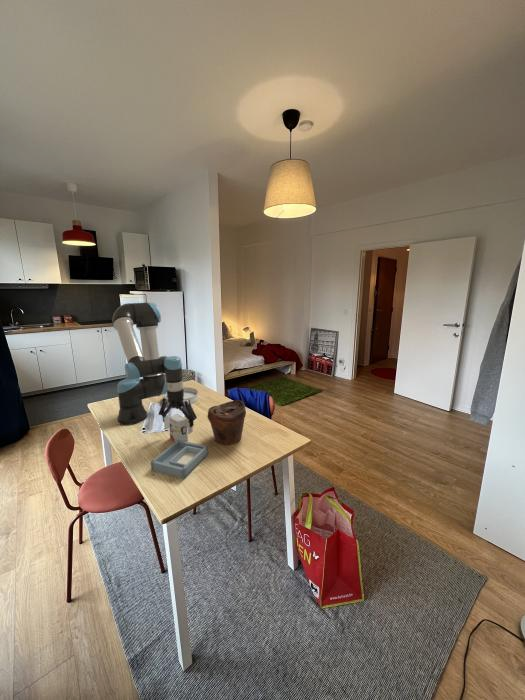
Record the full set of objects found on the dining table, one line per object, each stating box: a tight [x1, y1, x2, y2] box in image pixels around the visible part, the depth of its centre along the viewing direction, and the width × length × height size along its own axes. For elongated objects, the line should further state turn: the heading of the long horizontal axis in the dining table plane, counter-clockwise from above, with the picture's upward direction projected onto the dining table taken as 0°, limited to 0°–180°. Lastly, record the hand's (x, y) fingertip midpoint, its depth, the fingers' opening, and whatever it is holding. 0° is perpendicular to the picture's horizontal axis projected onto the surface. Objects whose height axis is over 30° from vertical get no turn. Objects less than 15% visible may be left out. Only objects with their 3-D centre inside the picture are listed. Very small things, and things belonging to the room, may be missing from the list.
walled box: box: [150, 440, 209, 480], centre depth 123 cm, size 16×18×4 cm
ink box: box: [169, 413, 189, 443], centre depth 140 cm, size 9×5×12 cm, turn 50°
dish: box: [163, 387, 199, 408], centre depth 189 cm, size 22×22×5 cm
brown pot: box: [207, 399, 247, 446], centre depth 140 cm, size 18×20×18 cm
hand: (178, 430), depth 140 cm, fingers open, 13 cm apart
